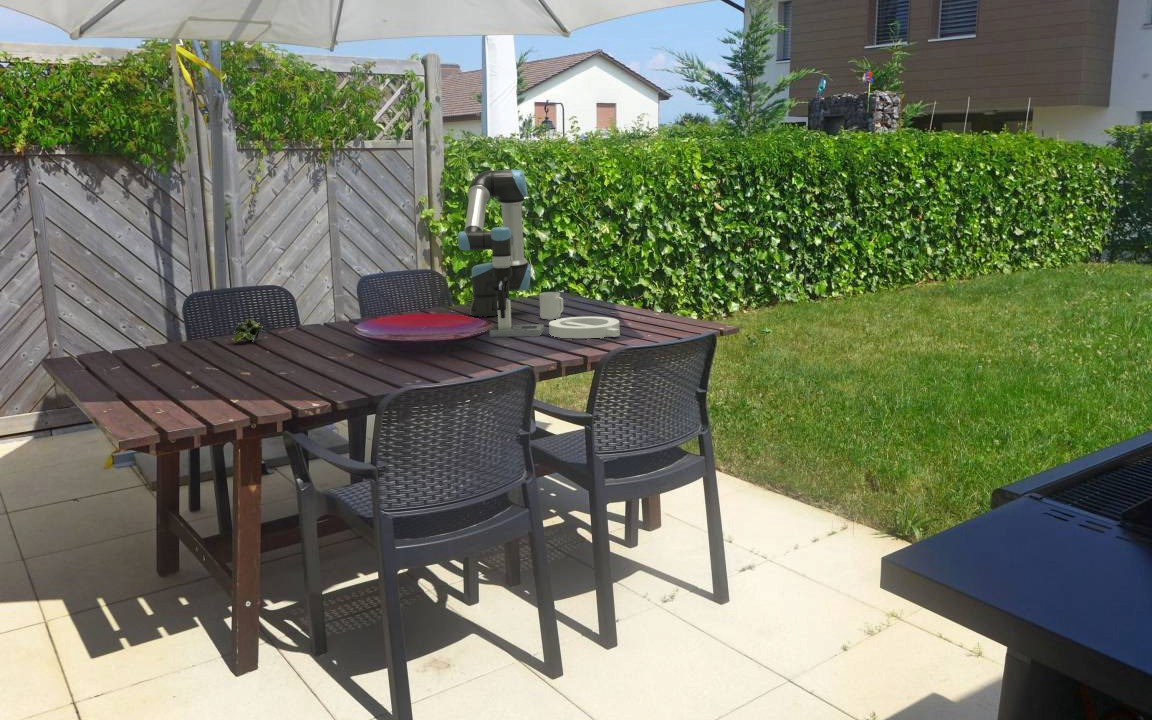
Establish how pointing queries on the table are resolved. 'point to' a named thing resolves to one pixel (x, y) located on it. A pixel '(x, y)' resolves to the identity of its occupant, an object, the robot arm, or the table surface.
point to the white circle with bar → (584, 327)
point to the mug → (550, 305)
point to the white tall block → (508, 308)
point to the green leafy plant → (248, 330)
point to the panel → (518, 331)
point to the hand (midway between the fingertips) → (504, 324)
